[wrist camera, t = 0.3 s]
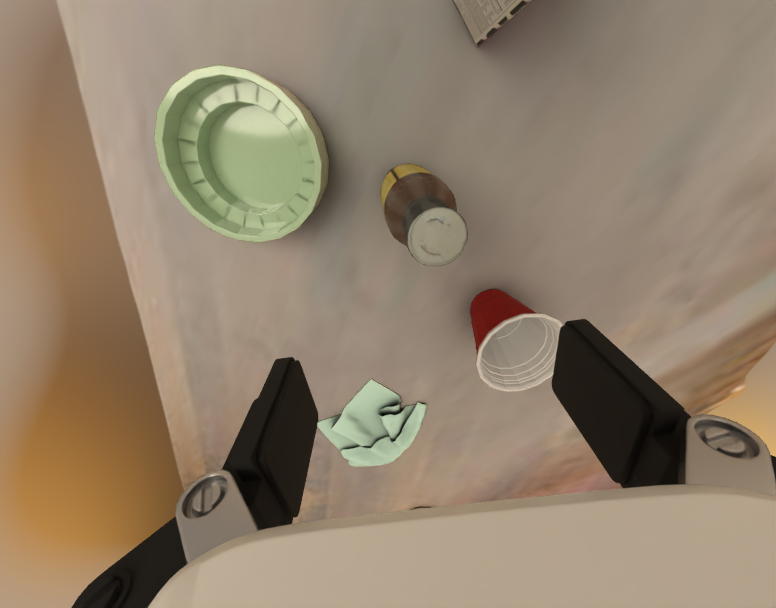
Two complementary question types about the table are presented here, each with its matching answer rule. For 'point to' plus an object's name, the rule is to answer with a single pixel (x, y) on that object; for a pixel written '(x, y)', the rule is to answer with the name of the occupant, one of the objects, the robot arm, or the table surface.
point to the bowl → (241, 153)
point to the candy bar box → (487, 15)
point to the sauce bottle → (423, 215)
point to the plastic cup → (512, 342)
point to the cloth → (374, 426)
